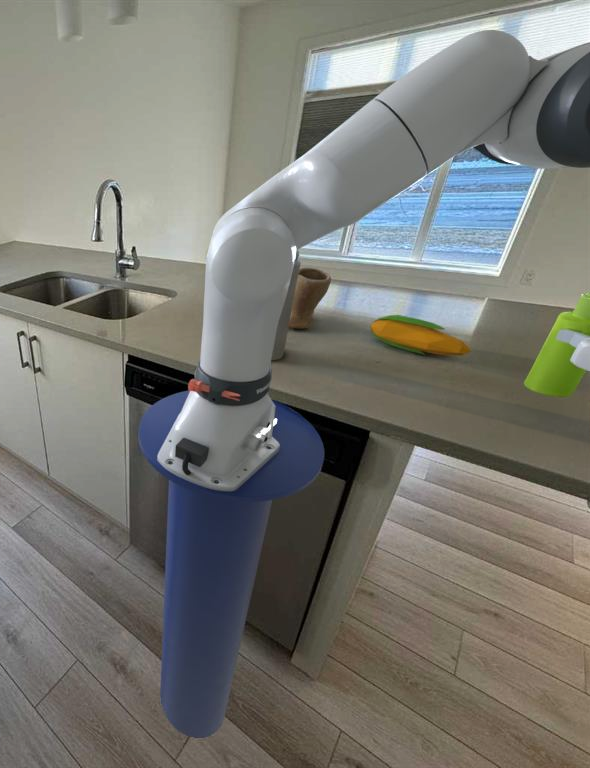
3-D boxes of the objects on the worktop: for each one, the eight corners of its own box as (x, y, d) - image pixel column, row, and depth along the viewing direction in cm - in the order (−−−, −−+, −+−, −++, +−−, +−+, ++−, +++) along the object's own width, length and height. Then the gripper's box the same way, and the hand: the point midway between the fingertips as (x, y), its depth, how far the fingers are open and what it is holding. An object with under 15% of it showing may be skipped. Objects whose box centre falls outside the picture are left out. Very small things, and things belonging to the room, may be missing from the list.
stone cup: (318, 334, 106) (331, 278, 99) (269, 328, 112) (278, 275, 104) (322, 315, 117) (334, 263, 110) (278, 310, 123) (286, 261, 115)
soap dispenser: (539, 398, 68) (603, 282, 58) (516, 378, 74) (571, 269, 64) (586, 401, 66) (660, 282, 56) (558, 380, 72) (622, 268, 62)
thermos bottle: (241, 351, 102) (256, 235, 88) (265, 343, 104) (284, 230, 90) (265, 363, 95) (285, 240, 81) (290, 355, 97) (315, 234, 84)
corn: (386, 304, 100) (488, 328, 85) (378, 332, 104) (474, 359, 89) (367, 313, 98) (469, 339, 82) (360, 341, 102) (456, 371, 86)
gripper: (777, 327, 54) (629, 299, 66) (681, 357, 50) (541, 322, 62) (743, 369, 58) (608, 335, 69) (649, 400, 53) (522, 358, 65)
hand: (575, 329), depth 65 cm, fingers closed on soap dispenser, 6 cm apart
